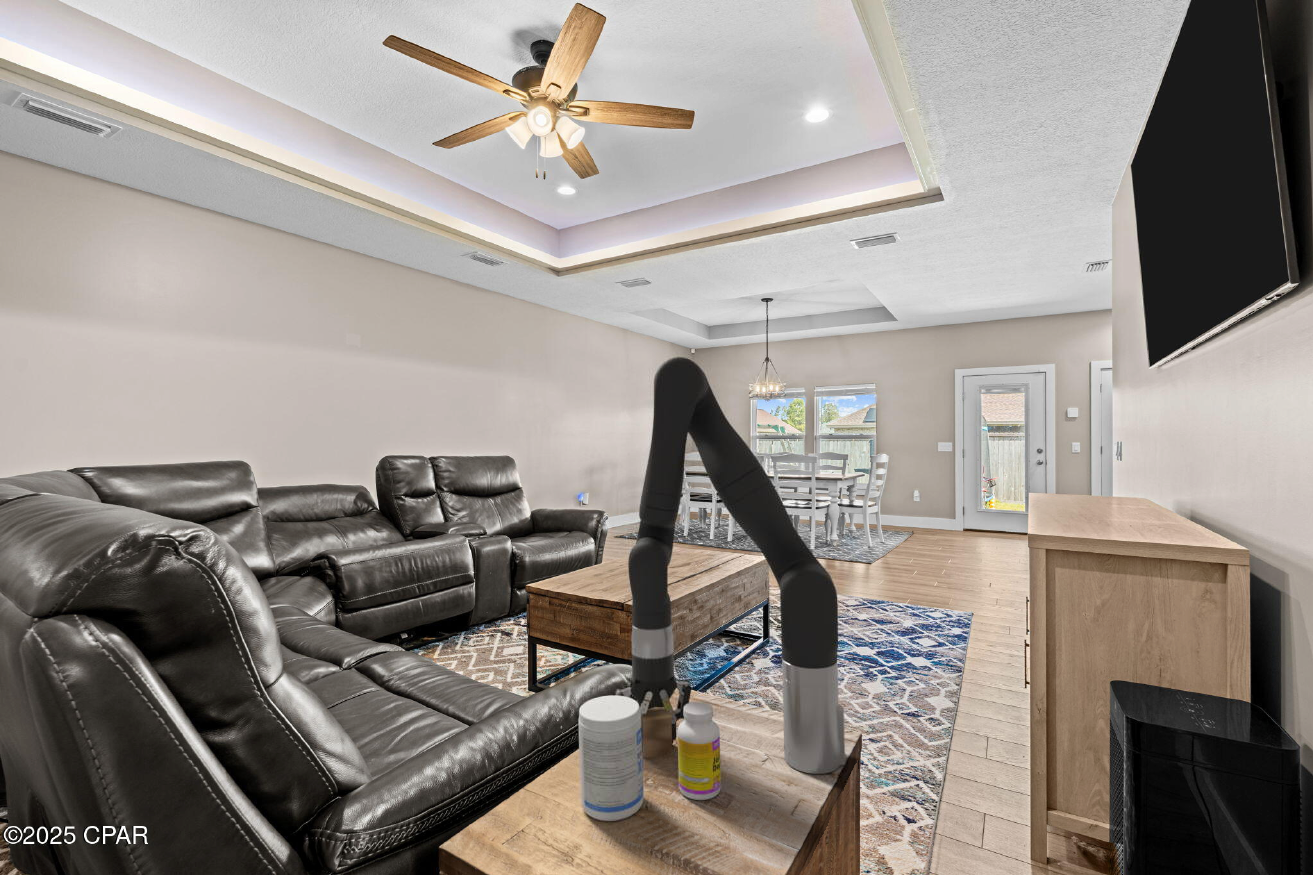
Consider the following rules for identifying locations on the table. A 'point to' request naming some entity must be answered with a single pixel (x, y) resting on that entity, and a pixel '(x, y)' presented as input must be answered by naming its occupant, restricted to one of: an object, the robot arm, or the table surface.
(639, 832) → the table surface
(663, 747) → the walnut block
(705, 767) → the supplement bottle
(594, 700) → the supplement tub
